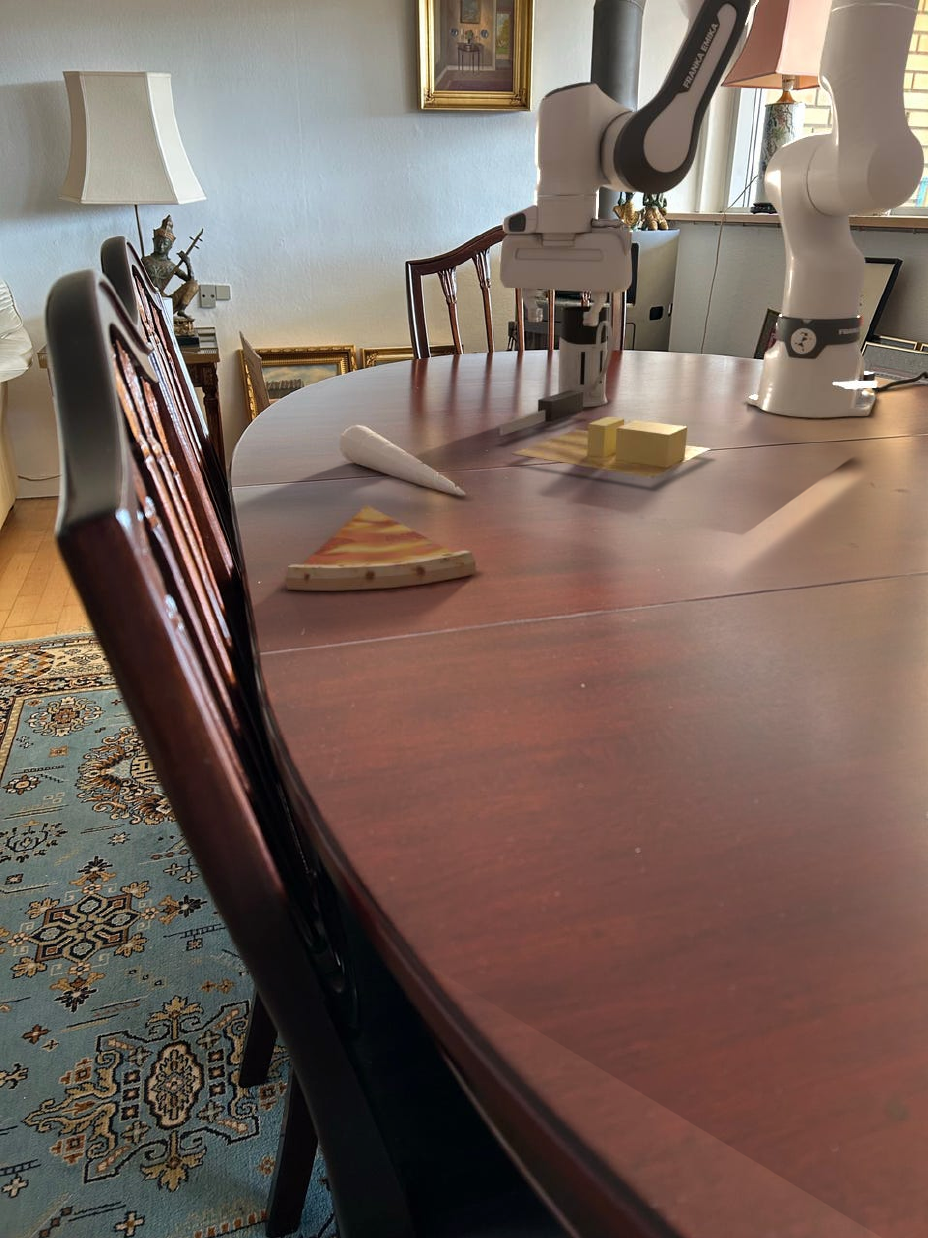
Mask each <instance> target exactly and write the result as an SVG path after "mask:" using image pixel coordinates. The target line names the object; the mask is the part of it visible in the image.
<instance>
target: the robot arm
mask: <svg viewBox="0 0 928 1238" xmlns="http://www.w3.org/2000/svg"><path fill="white" fill-rule="evenodd" d="M920 1H921V0H832V1H831V6H830V10H829V15H828V21H827V25H826V31H825V36H824V41H823V45H822V51H821V57H820V61H819V67H818V71H817V79H818V84H819V86H820V88H821V89H822V90H823V92H824V93H825V94H826V95H827V96H828V98H829V101H830V105H831V121H832V122H831V130H830V131H829V132H820V133H819V132H818V133H810V134H806V135H804V136H802V137H801V136H800V137H799V138H796V139H795V140H792V141H790V142H788V143H786V144H784V145H782V146H781V147H779V148H778V149H777V150H776V151H775V152H774V153H773V154H772V156H771V158H770V160H769V162H768V164H767V165H766V169H765V172H764V183H763V184H764V191H765V195H766V198H767V199H768V201H769V202H770V204H771V205H772V206H773V208H774V209H775V211H776V213H777V215H778V218H779V222H780V225H781V229H782V230H781V231H782V234H783V240H784V247H785V248H784V249H785V274H784V275H785V276H784V284H783V285H784V287H783V296H782V305H781V313H780V314H779V315H778V316H777V320H776V321H777V322H776V324H775V336H774V338H775V340H776V341H775V343H774V344H773V346H772V347H770V348H769V349H768V350H767V351H765V352H764V356H763V360H762V365H761V372H760V377H759V381H758V382H759V383H758V388H757V392H756V393H757V394H754V395H751V396H749V397H748V399H747V404H750V405H752V406H755V407H757V408H759V409H761V410H762V411H765V412H768V413H772V414H776V415H782V416H788V417H798V418H799V417H800V418H839V417H868V416H869V415H870V413H871V410H872V409H873V405H874V403H875V401H876V393H878V392H879V393H880V392H883V391H885V390H888V389H890V388H892V387H896V386H901V385H902V386H903V385H907V384H912V383H916V382H918V381H920V380H921V379H922V378H923V380H924V379H925V380H928V372H927V371H925V370H923V371H921V372H920V373H918V375H916V376H915V377H911V378H904V379H900V380H895V381H891V382H887V383H885V384H884V385H882V386H878V381H877V380H875V379H876V372H875V371H874V372H873V371H866V362H865V359H864V356H863V354H862V351H861V349H860V347H859V343H858V341H859V340H860V338H861V330H862V326H863V320H864V319H863V316H862V315H859V313H860V309H861V308H860V307H861V301H862V295H863V288H864V283H865V282H864V281H865V276H866V269H867V262H866V259H865V256H864V254H863V253H862V251H861V250H859V248H858V247H857V245H856V243H855V242H854V240H853V236H852V233H851V226H850V217H867V216H872V215H875V214H880V213H885V212H886V211H891V210H893V209H896V208H898V207H901V206H902V205H904V204H905V203H906V202H907V201H909V199H910V198H911V197H913V195H914V193H916V191H917V189H918V187H919V185H920V182H921V180H922V177H923V174H924V170H925V169H924V168H925V154H924V148H923V146H922V144H921V142H920V140H919V139H918V137H917V136H916V135H915V134H914V132H913V131H912V129H911V128H910V125H909V122H908V119H907V115H906V108H905V107H906V106H905V96H904V94H905V93H904V92H905V91H904V87H905V74H906V68H907V64H908V59H909V55H910V54H909V53H910V49H911V43H912V39H913V33H914V29H915V24H916V20H917V15H918V11H919V6H920ZM758 2H759V0H678V4H679V7H680V10H681V12H682V14H683V15H684V17H685V18H686V19H687V20H688V24H687V29H686V32H685V35H684V38H683V39H682V41H681V44H680V46H679V47H678V50H677V52H676V55H675V56H674V59H673V61H672V63H671V64H670V67H669V69H668V71H667V73H666V76H665V77H664V80H663V82H662V84H661V86H660V88H659V90H658V91H657V93H656V94H655V95H654V96H653V98H651V99H650V100H649V101H648V102H647V103H646V104H644V106H642V107H641V108H639V109H638V110H635V111H634V110H633V109H631V108H628V107H626V106H624V105H622V104H620V103H618V102H617V101H615V100H614V99H612V98H611V97H610V96H608V95H607V94H606V93H605V92H603V90H601V89H600V87H599V86H598V84H597V83H595V82H592V81H584V82H583V81H582V82H577V83H572V84H568V85H564V86H561V87H557V88H555V89H554V88H553V89H552V90H550V91H549V92H547V93H546V94H545V95H544V96H543V98H542V99H541V100H540V103H539V107H538V111H537V116H536V127H535V135H534V136H535V138H534V165H535V169H536V184H535V188H534V192H533V204H532V205H530V206H528V207H525V208H524V209H522V210H519V211H517V212H515V213H511V214H509V215H507V216H505V217H504V218H503V220H502V230H503V232H504V234H507V235H505V236H504V238H503V239H502V241H501V245H500V252H499V267H498V268H499V271H498V274H499V281H500V283H501V284H502V286H503V287H504V289H521V290H520V291H521V295H520V297H521V299H522V301H523V303H524V306H525V309H527V321H528V322H529V323H539V322H542V321H543V317H544V316H543V313H544V311H543V310H544V309H543V308H539V306H538V304H537V302H536V299H535V297H537V296H538V290H543V291H545V290H546V291H547V290H548V291H567V292H587V293H590V300H591V301H593V302H592V304H591V306H592V307H591V309H590V311H589V312H585V313H584V315H583V318H584V321H583V324H584V325H585V326H596V325H598V317H599V312H600V310H601V309H602V307H604V305H605V304H606V302H607V300H608V293H611V294H613V293H615V294H616V293H617V294H618V293H623V292H626V291H628V289H629V288H630V287H631V285H632V281H633V266H632V265H633V263H632V251H631V249H632V245H633V244H632V243H633V230H632V228H631V226H630V225H629V224H628V223H627V222H624V219H621V218H613V219H607V218H599V217H598V215H599V193H600V192H599V191H600V188H601V187H602V188H605V189H609V190H611V191H615V192H620V193H625V192H626V193H641V194H645V195H661V194H664V193H667V192H669V191H671V190H673V189H674V188H675V187H677V186H679V185H680V184H681V183H682V181H684V179H685V178H686V177H687V175H688V174H689V172H690V170H691V169H692V167H693V164H694V161H695V158H696V154H697V150H698V145H699V138H700V132H701V127H702V123H703V120H704V117H705V115H706V112H707V109H708V107H709V105H710V103H711V101H712V99H713V97H714V95H715V92H716V90H717V88H718V86H719V84H720V82H721V80H722V78H723V76H724V74H725V72H726V70H727V67H728V66H729V63H730V61H731V60H732V57H733V55H734V52H735V51H736V48H737V46H738V44H739V41H740V40H741V37H742V34H743V32H744V30H745V28H746V25H747V23H748V22H749V18H750V16H751V14H752V12H753V11H754V9H755V8H756V5H757V4H758ZM866 389H871V390H872V391H873V392H872V391H867V390H866ZM874 392H876V393H874Z"/></svg>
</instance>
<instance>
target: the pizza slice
mask: <svg viewBox="0 0 928 1238" xmlns="http://www.w3.org/2000/svg"><path fill="white" fill-rule="evenodd" d="M476 564H477V563H476V559H475V557H474V554H473V553H472V551H470V550H465V549H464V550H460V551H455V552H453V551H452V550H450V549H447V548H446V547H444V546H443V545H441V544H439V543H437V542H435V541H433V540H431V539H430V538H428V537H426V536H424V535H423V534H420V533H419V532H417V531H415V530H413V529H411V528H409V527H408V526H406V525H404V524H402V523H400V521H397V520H395V519H393V518H392V517H390V516H387V515H385V514H384V513H382V512H380V511H379V510H378V509H375V508H373V507H371V506H370V505H368V504H366V505H364V507H363V508H362V509H360V510H359V511H358V512H357V513H356V514H355V515H354V516H353V517H351V519H350V520H348V521H347V523H345V525H343V526H342V527H341V528H340V529H339V530H338V531H337V532H336V533H335V534H333V536H332V537H331V538H329V539H328V540H327V541H326V542H325V543H324V544H323V545H322V546H320V548H319V549H318V550H317V551H316V552H315V553H313V554H312V555H311V556H310V557H309V558H308V559H307V560H306V561H304V563H302V564H297V563H295V564H294V563H291V564H290V565H288V566H287V568H286V574H285V584H286V590H289V591H290V590H291V591H310V592H343V591H345V592H346V591H364V590H365V591H366V590H386V589H387V590H388V589H397V588H406V587H412V586H423V585H428V584H433V583H438V582H443V581H449V580H450V581H451V580H455V579H461V578H465V577H468V576H471V575H475V574H476V572H477V568H476V567H477V565H476Z"/></svg>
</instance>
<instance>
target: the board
mask: <svg viewBox="0 0 928 1238" xmlns="http://www.w3.org/2000/svg"><path fill="white" fill-rule="evenodd" d="M587 445H588V430H582V429H573V430H572V431H569V432H566V433H564V434H561V435H558V436H554V437H553V438H550V439H547V440H544V441H542V442H539V443H537V444H534V445H531V446H528V447H526V448H522V449H520V450H517V451H515V452H512V453H511V455H516V456H521V457H529V458H534V459H541V460H547V461H552V462H557V463H564V464H569V465H576V466H582V467H586V468H587V467H588V468H593V469H600V470H606V471H611V472H617V473H621V474H622V473H623V474H628V475H634V476H635V475H636V476H641V477H646V478H652V479H653V478H655V477H657V476H660V475H661V474H664V473H665V472H667V471H669V470H671V469H673V468H675V467H678V466H680V465H682V464H683V463H686V462H687V461H689V460H691V459H693V458H696V457H697V456H700V455H702V454H703V453H705V452H707V451H710V448H708V447H701V446H694V445H687V444H686V448H685V459H683V460H681V461H679V462H677V463H675V464H673V465H671V466H669V467H667V468H665V467H658V466H652V465H646V464H640V463H633V462H627V461H621V460H615V453H613V454H611V455H608V456H606V457H604V458H602V457H596V456H590V455H587Z"/></svg>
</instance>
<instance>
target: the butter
mask: <svg viewBox="0 0 928 1238" xmlns="http://www.w3.org/2000/svg"><path fill="white" fill-rule="evenodd" d="M687 435H688V427H687V426H685V425H676V424H669V423H661V422H653V421H645V420H640V419H639V420H637V419H635V420H633V421H631V422H628V423H624V425H622V426H620V427H617V431H616V451H615V460H621V461H627V462H633V463H640V464H646V465H652V466H658V467H665V468H667V467H669V466H671V465H673V464H675V463H677V462H679V461H681V460H683V459H685V448H686V445H687Z"/></svg>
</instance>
